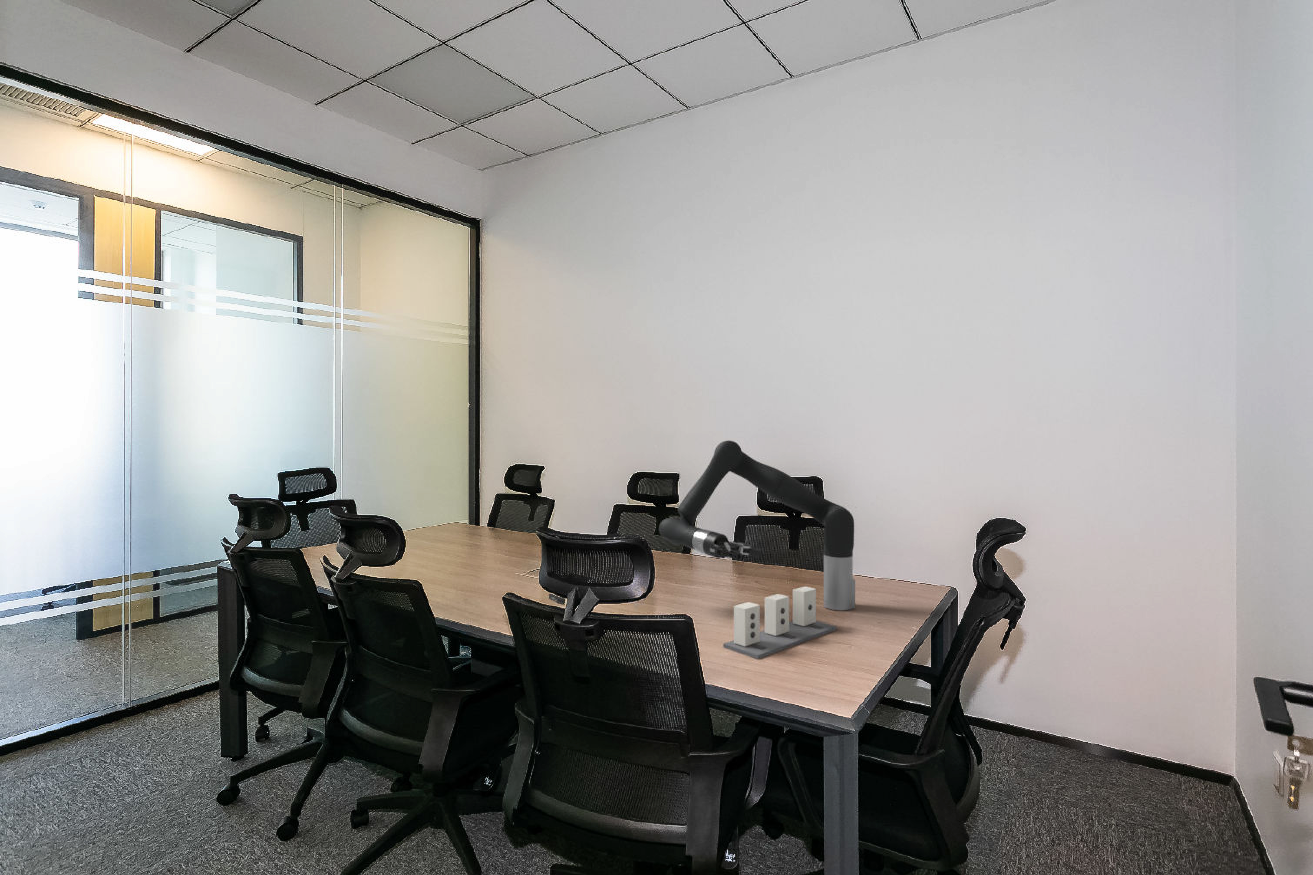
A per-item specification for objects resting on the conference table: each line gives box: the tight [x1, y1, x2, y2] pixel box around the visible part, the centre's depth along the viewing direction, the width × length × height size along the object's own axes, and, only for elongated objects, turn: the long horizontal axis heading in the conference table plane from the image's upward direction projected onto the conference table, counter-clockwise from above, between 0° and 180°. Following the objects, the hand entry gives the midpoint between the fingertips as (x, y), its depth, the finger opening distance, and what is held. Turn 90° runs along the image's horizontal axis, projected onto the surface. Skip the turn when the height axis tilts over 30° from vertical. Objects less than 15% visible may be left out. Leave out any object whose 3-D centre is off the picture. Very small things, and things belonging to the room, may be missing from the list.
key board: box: [723, 620, 838, 660], centre depth 185 cm, size 12×36×1 cm, turn 131°
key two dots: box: [764, 593, 790, 636], centre depth 186 cm, size 4×6×10 cm
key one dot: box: [792, 586, 817, 626], centre depth 195 cm, size 4×6×10 cm
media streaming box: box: [548, 593, 565, 606], centre depth 229 cm, size 15×15×3 cm
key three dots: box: [733, 601, 761, 646], centre depth 178 cm, size 4×6×10 cm
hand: (750, 555), depth 194 cm, fingers open, 8 cm apart
